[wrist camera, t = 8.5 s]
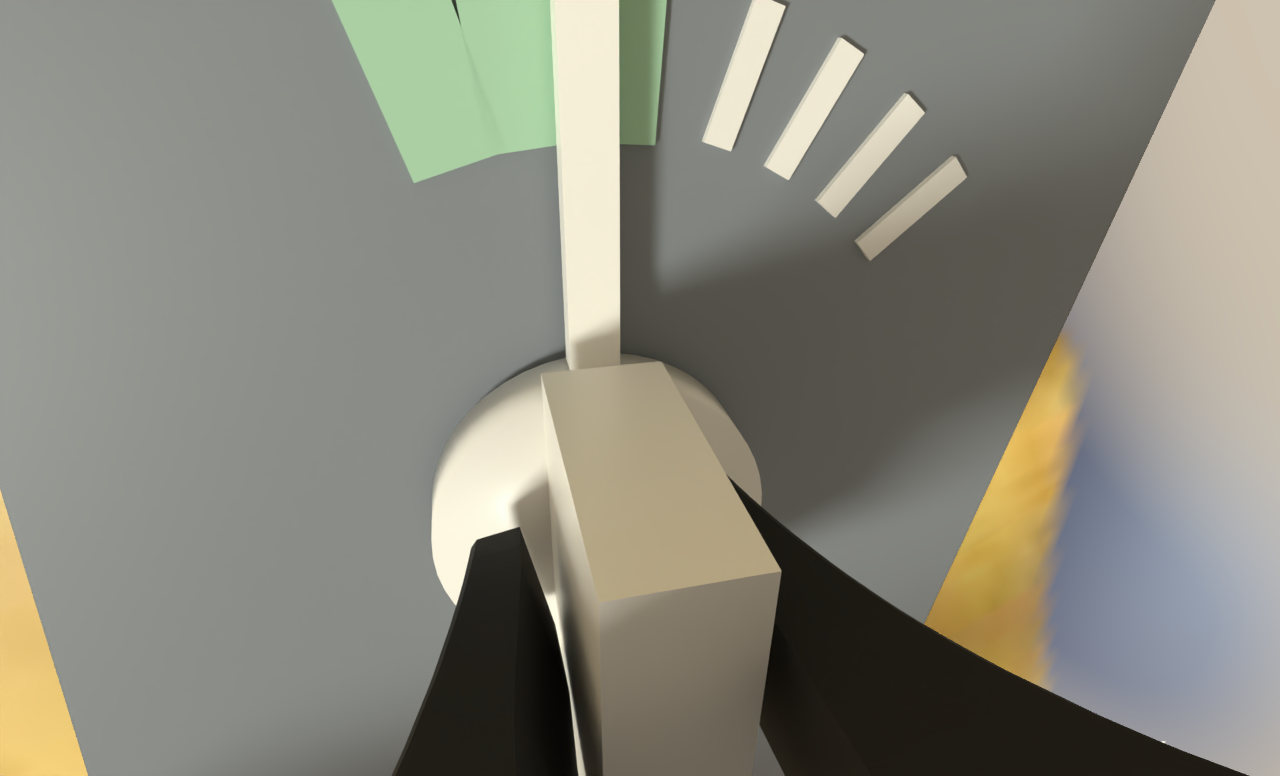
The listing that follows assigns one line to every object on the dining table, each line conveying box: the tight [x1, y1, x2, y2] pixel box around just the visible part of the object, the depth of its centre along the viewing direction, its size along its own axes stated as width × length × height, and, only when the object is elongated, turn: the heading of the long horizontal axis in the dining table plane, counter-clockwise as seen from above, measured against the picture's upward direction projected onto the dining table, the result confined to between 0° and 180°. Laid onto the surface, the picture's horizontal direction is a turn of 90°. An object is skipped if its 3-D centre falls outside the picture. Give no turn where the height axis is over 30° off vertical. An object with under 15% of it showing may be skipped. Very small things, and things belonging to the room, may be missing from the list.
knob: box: [431, 0, 782, 776], centre depth 8 cm, size 11×5×5 cm, turn 179°
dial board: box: [0, 0, 1215, 776], centre depth 12 cm, size 18×16×1 cm
